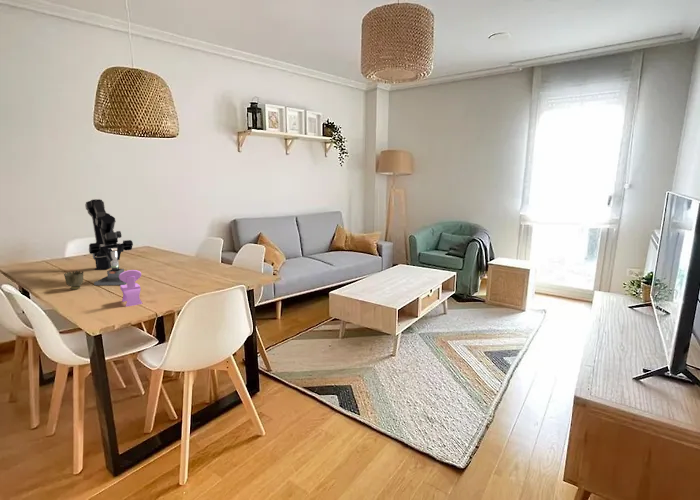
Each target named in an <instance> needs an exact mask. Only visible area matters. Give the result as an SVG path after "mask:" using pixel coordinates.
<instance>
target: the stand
mask: <svg viewBox="0 0 700 500" xmlns="http://www.w3.org/2000/svg"><path fill="white" fill-rule="evenodd" d="M122 272H125V268H119V271H112V268H111V269H109V270H107V271H106V274H107V275H106V276H104V277H102V278H101V279H98V280H96V281H94V282H93V284H94V286H120V285H127V283H126V282H123V281H121V280H120V279H119V275H120V274H121V273H122Z"/></svg>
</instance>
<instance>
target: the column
mask: <svg viewBox="0 0 700 500" xmlns="http://www.w3.org/2000/svg"><path fill="white" fill-rule="evenodd" d="M110 256H111V269H112V271H119V269H120V264H119V260H118V252H117V250H112V251H110Z"/></svg>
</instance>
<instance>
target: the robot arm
mask: <svg viewBox="0 0 700 500" xmlns="http://www.w3.org/2000/svg"><path fill="white" fill-rule="evenodd" d="M105 208H106V207H105V201H103V200H102V199H100V198H98V199H95V198H94V199H93V198H92V199H91V200H88V201H86V202H85V210H87V214H88V215H89V216H90V217H91V219H92V226H93V231H94V237H95V242H93V243H92V242H91V243H89V245H88V252H89V254H90V255H92V259H93V260H94V261H95V268H94V270H95V271H96V270H97V271H98V270H99V271H101V270H108V269H109V270H110V268H111V256H110V251H113V249H116V251H117V252H118V261H120V260H121V259H120V258H121V254H122V253H123V252H124V251H131V250H133V247H134V246H133V245H134V244H133V240H131V239H126V240H122V243H118V241H119V240H118V239H120V238H122V232H121V230H116V231H114V229H115V224H116V218H115V217H114V216H113V215H111V214H110V213H107V211H106V209H105ZM111 269H112V268H111Z"/></svg>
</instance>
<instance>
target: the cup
mask: <svg viewBox="0 0 700 500" xmlns="http://www.w3.org/2000/svg"><path fill="white" fill-rule="evenodd" d="M84 274H85V273H84V271H80V270H79V271H78V270H76V271H72V272H71V271H69V272H65V273H63V276H64V280H65V283H66V285H67V286H69V287H70V290H74V291H75V290H79V289H81V285H83V284H84V283H83V282H84Z"/></svg>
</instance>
